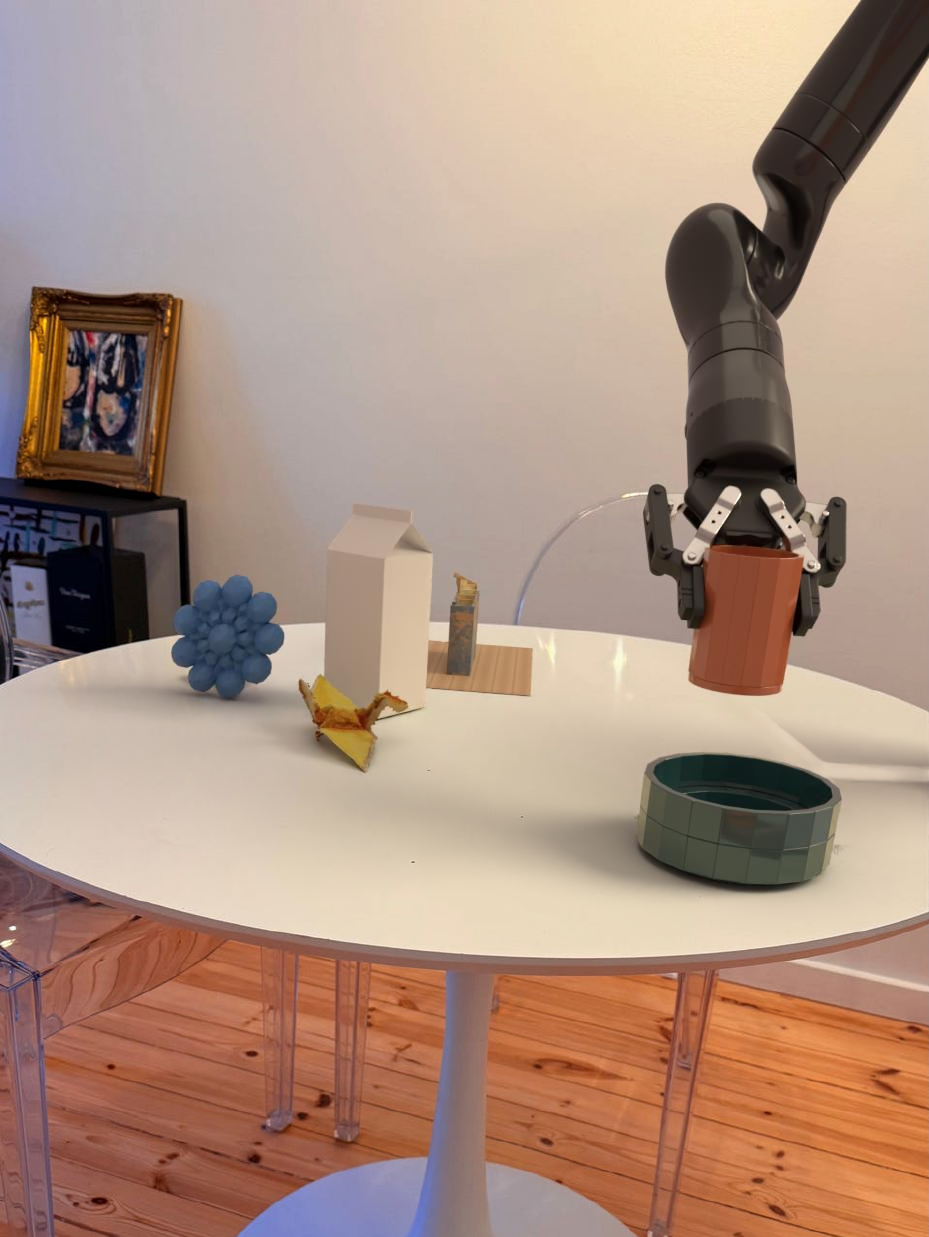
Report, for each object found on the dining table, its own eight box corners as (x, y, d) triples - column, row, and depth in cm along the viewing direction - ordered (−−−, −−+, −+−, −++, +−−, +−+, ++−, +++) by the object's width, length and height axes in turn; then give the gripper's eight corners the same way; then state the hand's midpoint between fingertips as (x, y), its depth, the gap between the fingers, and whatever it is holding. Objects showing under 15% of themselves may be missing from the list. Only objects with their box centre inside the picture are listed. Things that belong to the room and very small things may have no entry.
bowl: (789, 824, 87) (801, 755, 85) (857, 895, 75) (873, 817, 73) (619, 818, 86) (627, 748, 84) (660, 889, 74) (671, 809, 72)
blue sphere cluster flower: (300, 695, 114) (302, 574, 110) (273, 711, 108) (274, 583, 104) (193, 681, 117) (191, 562, 113) (160, 696, 111) (157, 570, 106)
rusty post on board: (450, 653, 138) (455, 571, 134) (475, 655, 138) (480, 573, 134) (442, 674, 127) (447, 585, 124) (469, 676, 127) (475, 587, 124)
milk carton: (377, 721, 107) (386, 512, 101) (322, 705, 111) (327, 503, 104) (425, 708, 113) (436, 509, 106) (371, 694, 116) (378, 501, 110)
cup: (765, 675, 82) (785, 547, 79) (795, 698, 76) (818, 560, 73) (677, 671, 81) (694, 542, 78) (701, 693, 75) (721, 555, 72)
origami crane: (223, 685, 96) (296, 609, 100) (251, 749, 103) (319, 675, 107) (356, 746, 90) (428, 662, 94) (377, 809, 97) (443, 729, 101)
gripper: (649, 386, 79) (652, 584, 72) (856, 401, 79) (878, 600, 72) (631, 462, 86) (632, 650, 79) (821, 475, 86) (839, 664, 79)
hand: (749, 625), depth 76 cm, fingers closed on cup, 6 cm apart
